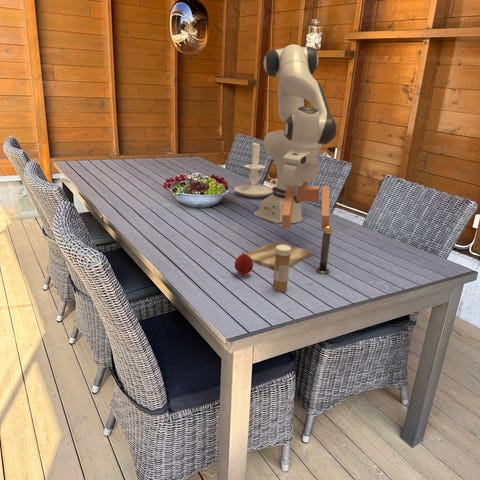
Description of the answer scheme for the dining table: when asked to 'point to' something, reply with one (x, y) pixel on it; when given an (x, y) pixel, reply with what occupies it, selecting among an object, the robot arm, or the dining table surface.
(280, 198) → the robot arm
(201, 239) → the dining table surface
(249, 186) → the candlestick
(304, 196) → the c link
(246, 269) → the onion
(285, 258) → the sprinkles bottle
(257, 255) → the tray
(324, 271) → the post stand
